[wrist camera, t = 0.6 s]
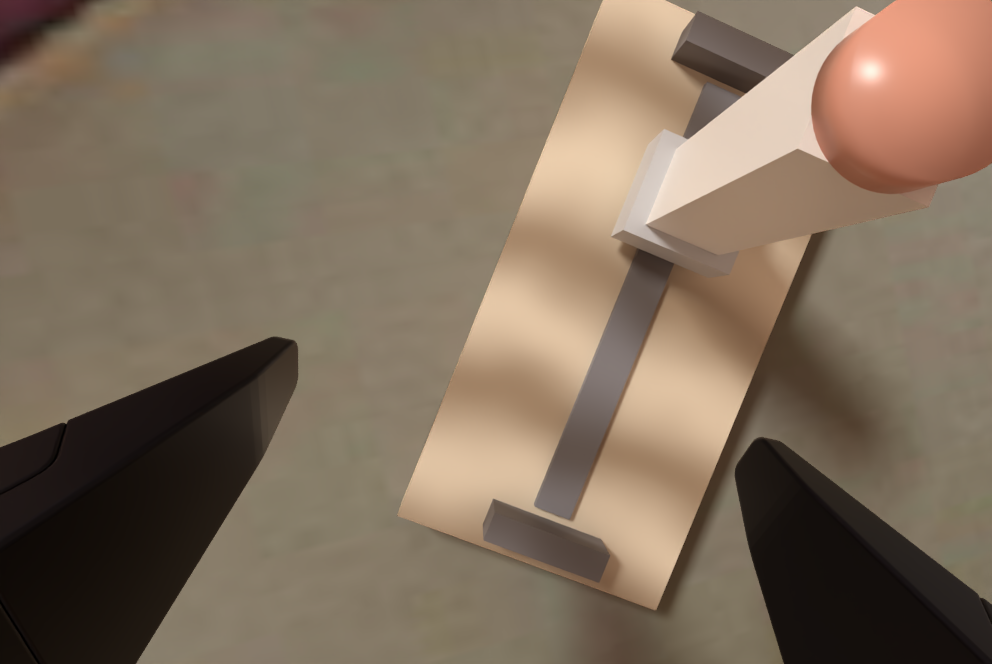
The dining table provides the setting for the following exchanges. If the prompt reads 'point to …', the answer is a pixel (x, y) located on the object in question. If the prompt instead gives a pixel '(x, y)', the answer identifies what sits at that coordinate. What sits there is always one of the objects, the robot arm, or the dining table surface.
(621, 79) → the slider console
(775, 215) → the slider lever
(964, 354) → the dining table surface
